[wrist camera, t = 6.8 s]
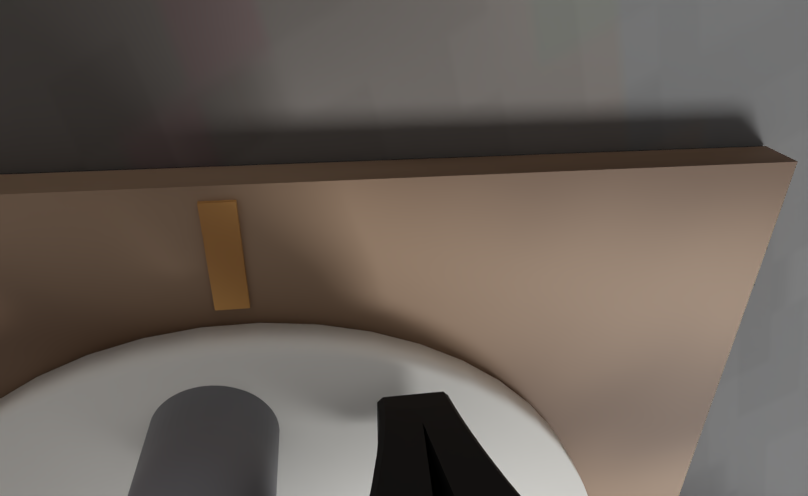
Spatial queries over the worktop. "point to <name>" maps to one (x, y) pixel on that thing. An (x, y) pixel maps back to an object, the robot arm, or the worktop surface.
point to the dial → (252, 416)
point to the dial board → (425, 274)
